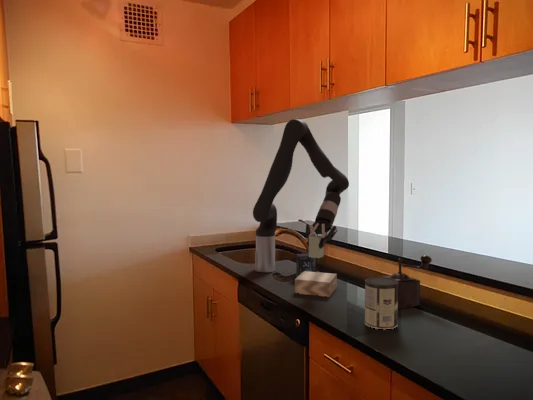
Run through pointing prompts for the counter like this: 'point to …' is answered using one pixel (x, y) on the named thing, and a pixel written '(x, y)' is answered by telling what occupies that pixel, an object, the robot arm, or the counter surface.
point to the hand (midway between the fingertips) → (314, 246)
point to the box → (304, 263)
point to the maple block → (316, 283)
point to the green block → (315, 247)
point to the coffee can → (381, 302)
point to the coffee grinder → (409, 284)
